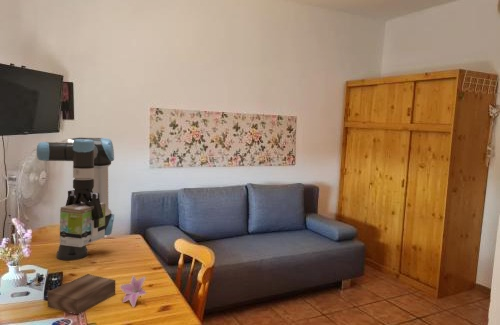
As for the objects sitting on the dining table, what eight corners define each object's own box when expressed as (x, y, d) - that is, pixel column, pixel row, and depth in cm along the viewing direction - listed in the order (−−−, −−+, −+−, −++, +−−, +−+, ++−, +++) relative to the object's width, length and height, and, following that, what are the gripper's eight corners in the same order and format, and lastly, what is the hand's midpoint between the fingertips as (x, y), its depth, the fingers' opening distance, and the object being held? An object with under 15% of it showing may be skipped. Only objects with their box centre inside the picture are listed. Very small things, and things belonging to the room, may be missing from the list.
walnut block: (47, 306, 142) (47, 291, 142) (87, 287, 161) (87, 273, 160) (77, 315, 137) (77, 299, 136) (115, 294, 155) (115, 280, 155)
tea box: (82, 248, 138) (82, 209, 137) (58, 245, 140) (58, 207, 139) (105, 237, 153) (106, 202, 152) (84, 234, 155) (84, 200, 154)
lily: (119, 298, 154) (112, 283, 149) (145, 282, 160) (139, 267, 154) (130, 317, 146) (123, 302, 140) (157, 300, 151) (152, 285, 146)
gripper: (53, 177, 145) (53, 232, 147) (99, 182, 137) (99, 240, 139) (69, 175, 152) (69, 227, 154) (113, 180, 144) (113, 235, 146)
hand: (83, 233), depth 147 cm, fingers closed on tea box, 11 cm apart
